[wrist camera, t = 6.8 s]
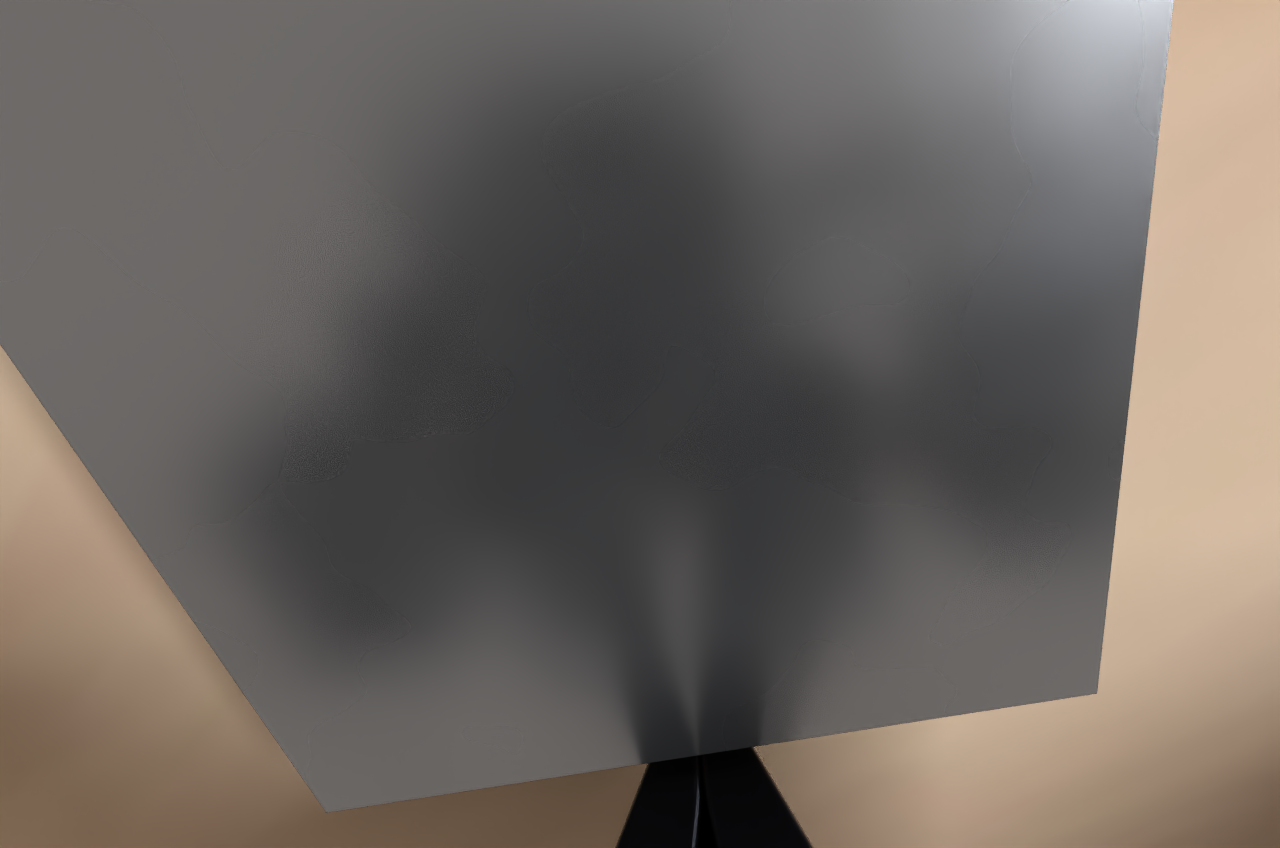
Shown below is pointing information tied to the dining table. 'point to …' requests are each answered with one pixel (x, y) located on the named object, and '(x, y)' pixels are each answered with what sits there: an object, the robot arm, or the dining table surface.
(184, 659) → the dining table surface
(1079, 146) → the grey flat block
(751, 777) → the robot arm
